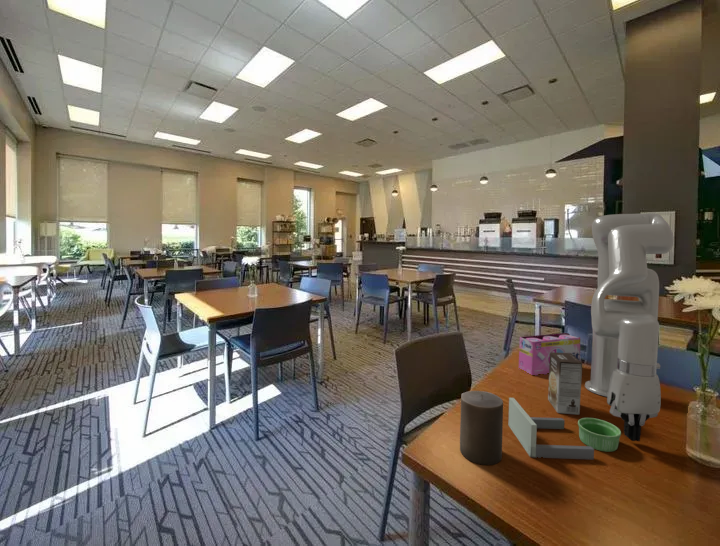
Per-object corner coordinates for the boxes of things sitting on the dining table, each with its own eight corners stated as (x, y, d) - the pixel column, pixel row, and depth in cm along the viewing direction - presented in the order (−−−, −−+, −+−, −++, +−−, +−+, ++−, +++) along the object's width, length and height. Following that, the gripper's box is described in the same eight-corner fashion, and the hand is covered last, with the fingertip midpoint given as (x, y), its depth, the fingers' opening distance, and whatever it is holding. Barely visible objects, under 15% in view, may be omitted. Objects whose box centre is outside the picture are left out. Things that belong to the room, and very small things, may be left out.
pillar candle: (498, 470, 76) (501, 406, 75) (455, 457, 81) (456, 396, 80) (504, 448, 84) (506, 390, 83) (464, 437, 89) (465, 382, 88)
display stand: (561, 426, 94) (563, 398, 93) (593, 459, 80) (595, 426, 79) (508, 425, 95) (509, 397, 94) (530, 457, 81) (531, 425, 80)
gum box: (566, 363, 143) (568, 332, 142) (583, 370, 135) (584, 337, 134) (517, 369, 137) (518, 336, 136) (531, 376, 130) (533, 341, 129)
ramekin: (615, 458, 80) (616, 440, 80) (572, 442, 87) (572, 425, 86) (624, 443, 86) (625, 427, 86) (583, 429, 93) (584, 414, 92)
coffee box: (546, 399, 110) (548, 351, 109) (568, 401, 109) (570, 352, 108) (557, 413, 101) (559, 361, 100) (581, 415, 100) (583, 362, 99)
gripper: (655, 362, 87) (651, 430, 89) (595, 361, 88) (591, 429, 90) (681, 373, 80) (675, 447, 81) (615, 372, 81) (610, 445, 82)
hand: (631, 437), depth 86 cm, fingers closed
